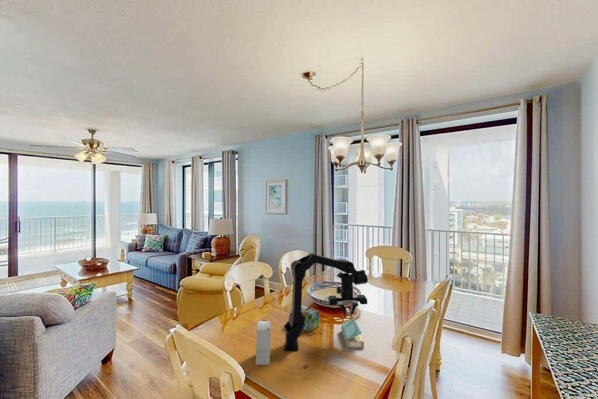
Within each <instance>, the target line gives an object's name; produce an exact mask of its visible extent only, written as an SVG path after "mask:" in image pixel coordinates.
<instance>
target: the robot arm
mask: <svg viewBox="0 0 598 399" xmlns="http://www.w3.org/2000/svg"><path fill="white" fill-rule="evenodd" d="M292 261H293V260H292ZM292 261H291V264H290V271H291V277H292V298H291V299H292V302H291V310H290V313H289V316H288V321H287V322H286V323H285V324H284V325H283V329H284V331H285V342H284V348H283V349H284V351H287V352H288V351H291V352H292V351H295V352H296V351H299V342H298V340H299V339H298V338H300V335H301V332H302V331H304V330H303V328H304V326H305V316H304V315H303V313H302V312H301V306H302V302H303V300H302V297H303V296H302V295H303V282H304V278H305V276H306V273H307V271H308V270H309V269H311V268H312V267H313V266H314V265H315V264H319V265H323V266H327V267H331V268H335V269H337V270H340V272H339V273H338V274H337V275H336V277H337V278H339V279H340V284H341V285H340V286H341V287H340V286H337V287H336V294H340V297H337V295H329V296H327V302H328V305H329V306H336V305H337V307H338V308H339V307H340V309H341V312H342V314H343V318H346V307H345V303H350V308H349V311H350V313H351V315H352V316H353V315H354V312H355V310H356V308H357V307H358V306H359V304H360V305H368V297H367V296H365V294H357V295H356V296H355V297H354V287H353V286H354V285H356V286H357V285H366V284H367V283H368V280H369V279H368V275H367V273H366V270H364V269H361V270H360V269H359V270H357V269H356V268H355V265H354V263H353V262H352V261H349V260H347V259H345V258H344V259H342V258H337V259H336V258H335V259H334V258H331V257H327V256H322V255H319V254H316V253H315V252H313V253H309V254H307V255H306V256H303V257H301V258H299V259H297V260H294V261H293V262H292ZM353 284H354V285H353Z"/></svg>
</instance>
